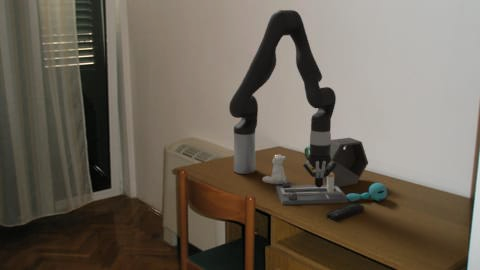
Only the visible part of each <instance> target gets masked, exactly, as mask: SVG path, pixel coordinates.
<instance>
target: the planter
mask: <svg viewBox="0 0 480 270" xmlns="http://www.w3.org/2000/svg"><path fill="white" fill-rule="evenodd" d="M330 157H331V160H332V161H333V162H335V163H336V164H337V165H336V167H335V168H334V169H333V170H332V172H333V174H334V175H335V177H334V184H337V186H338V187H339V188H342V187H347V186H353V185H357V184H358V182H359V181H360V178H361V177H362V175H363V173H364V171H365V170H366V168H367V166H368V165H369V161H368V158H367V155H366V150H365V149H364V144H363V142H362V141H360V140H358V139H354V138H352V137H343V138H337V139H331V145H330ZM328 167H329V164H328V165H327V167H326V168H325V170H326V169H327V168H328ZM323 182H324V183H327V176H325V177H324V178H323Z"/></svg>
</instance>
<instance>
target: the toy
mask: <svg viewBox="0 0 480 270" xmlns="http://www.w3.org/2000/svg"><path fill="white" fill-rule="evenodd" d="M387 190H388V189H387V188H386V186H385V185H384V184H383V183H381V182H374V183H372V184H371V185H370V186H369V188H368V192H363V193H361V194H359V193H351V192H350V193H348V194H347V195H345V196H346V197H347V198H348V202H353V203H354V202H356V201H357V200H361V199H362V200H363V199H364V200H365V199H366V200H367V199H369V198H371V199H372V200H374V201H377V202H380V201H382V200H384V199H385V198H386V197H387V195H388V191H387Z"/></svg>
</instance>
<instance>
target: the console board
mask: <svg viewBox="0 0 480 270" xmlns="http://www.w3.org/2000/svg"><path fill="white" fill-rule="evenodd" d="M291 184H292V182H291V181H289V180H286V181H283V184H282V185H275V191H276V193H277V195H278V198H279V201H280V203H281V205H285V206H287V205H313V204H316V205H317V204H344V203H346V204H348V202H349V201H348V198H347V197H346V196H347V195H346V194H345V193H344V191H343V190H342V189H341V187H338V186H337V184H334V191H327V189H326V186H327V184H323V186H321V187H320V188H317V186H316V185H315V184H301V185H300V184H297V185H291Z"/></svg>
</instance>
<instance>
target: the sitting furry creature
mask: <svg viewBox="0 0 480 270" xmlns="http://www.w3.org/2000/svg"><path fill="white" fill-rule="evenodd" d="M286 157H287V156H285V155H281V154H280V153H279V154H274V157H273V158H272V161H271V163H272V164H273V166H272V170H271V171H272V172H271V176H270V175H265V176H263V177H262V182H263V183H266V184H271V185H278V186H281V185H283V181H287V175H286V173H285V168H284V166H283V162H284V160H286V159H287V158H286Z"/></svg>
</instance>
